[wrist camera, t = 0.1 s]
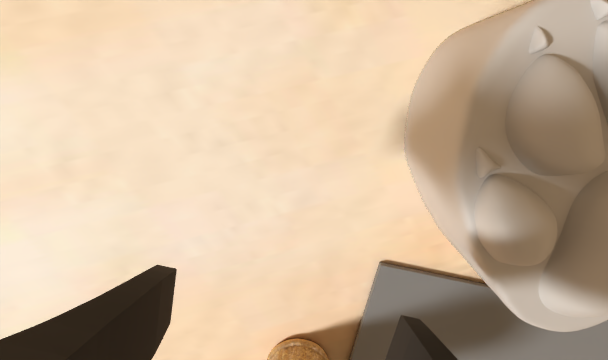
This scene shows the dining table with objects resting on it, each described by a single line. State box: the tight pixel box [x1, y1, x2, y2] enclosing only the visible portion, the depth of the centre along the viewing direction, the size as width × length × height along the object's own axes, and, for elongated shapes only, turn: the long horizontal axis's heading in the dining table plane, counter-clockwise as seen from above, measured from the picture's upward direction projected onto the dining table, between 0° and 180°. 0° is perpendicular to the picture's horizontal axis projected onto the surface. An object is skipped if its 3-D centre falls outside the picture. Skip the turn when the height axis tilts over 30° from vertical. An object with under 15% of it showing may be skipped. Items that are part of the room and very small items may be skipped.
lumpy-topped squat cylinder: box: [404, 0, 608, 332], centre depth 14 cm, size 10×13×9 cm
